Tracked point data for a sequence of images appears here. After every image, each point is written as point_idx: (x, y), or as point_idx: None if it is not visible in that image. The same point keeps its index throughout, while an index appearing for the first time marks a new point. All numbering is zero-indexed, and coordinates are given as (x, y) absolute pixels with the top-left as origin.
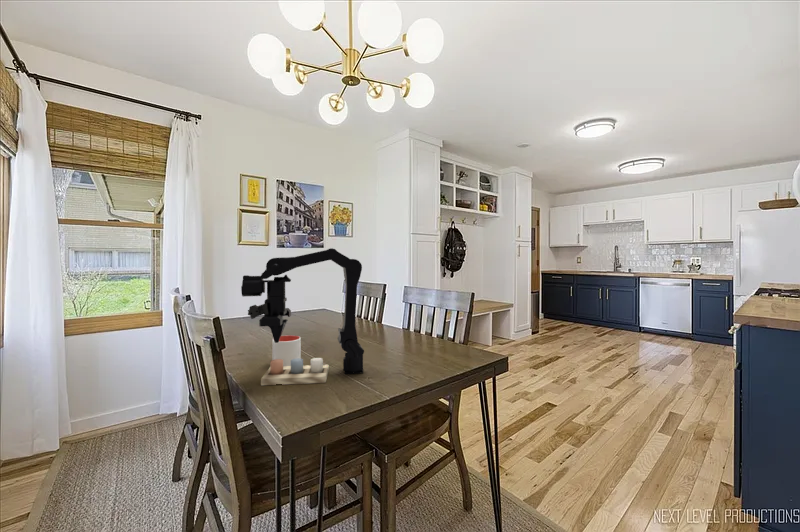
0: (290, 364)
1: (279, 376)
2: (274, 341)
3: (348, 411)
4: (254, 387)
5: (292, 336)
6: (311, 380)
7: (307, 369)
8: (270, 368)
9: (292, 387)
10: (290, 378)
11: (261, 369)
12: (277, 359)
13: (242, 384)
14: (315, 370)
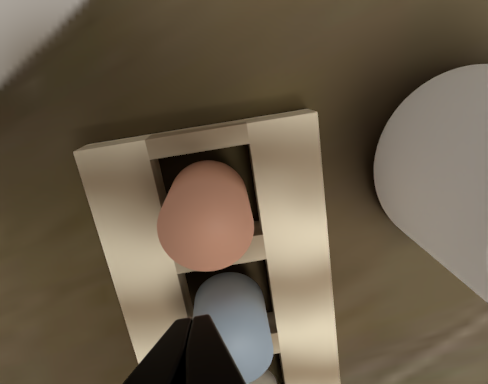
0: (385, 212)
1: (134, 243)
2: (171, 326)
3: None
4: (52, 118)
5: None
6: None
7: None
8: (183, 175)
9: (90, 309)
10: (121, 305)
11: (371, 18)
12: (243, 219)
13: (85, 16)
14: None
